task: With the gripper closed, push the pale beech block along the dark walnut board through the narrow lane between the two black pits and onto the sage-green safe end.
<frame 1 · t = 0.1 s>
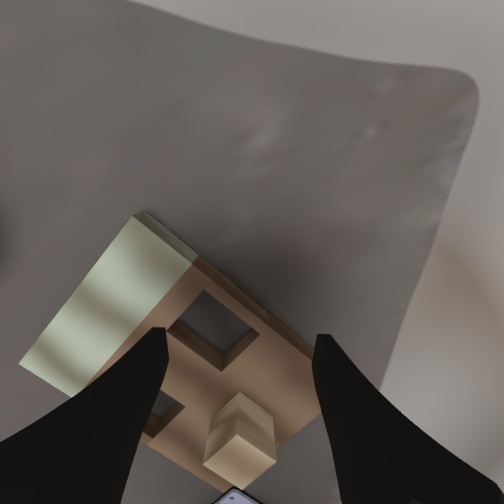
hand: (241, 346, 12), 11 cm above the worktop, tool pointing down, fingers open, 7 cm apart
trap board: (192, 358, 25), on the worktop
beech block: (241, 417, 24), point 2 cm above the worktop, touching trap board
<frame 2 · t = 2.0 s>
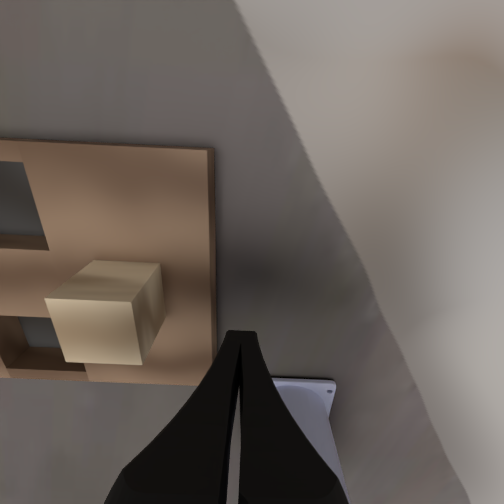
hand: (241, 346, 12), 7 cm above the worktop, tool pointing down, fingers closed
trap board: (56, 266, 19), on the worktop
beech block: (131, 289, 16), point 2 cm above the worktop, touching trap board
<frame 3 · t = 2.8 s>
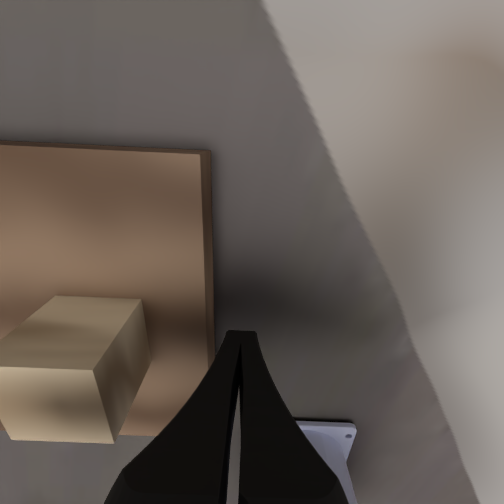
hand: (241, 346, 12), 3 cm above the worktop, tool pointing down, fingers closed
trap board: (17, 296, 15), on the worktop
beech block: (106, 330, 13), point 2 cm above the worktop, touching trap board
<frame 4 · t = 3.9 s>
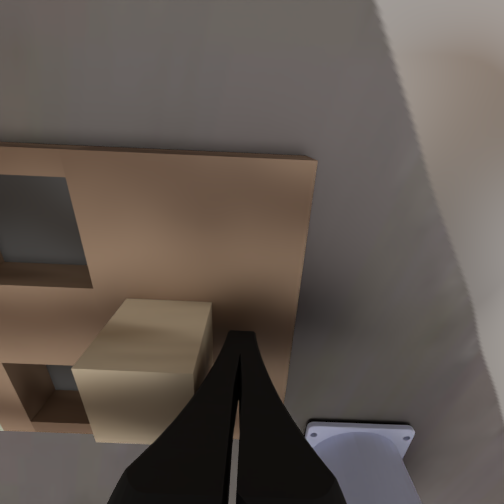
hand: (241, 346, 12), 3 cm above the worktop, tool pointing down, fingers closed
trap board: (92, 300, 15), on the worktop
beech block: (172, 333, 13), point 2 cm above the worktop, touching gripper, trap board
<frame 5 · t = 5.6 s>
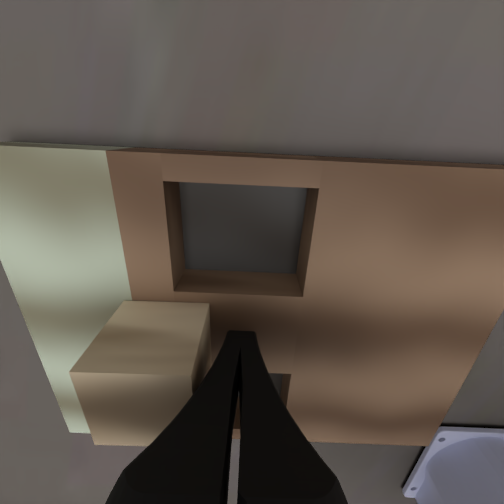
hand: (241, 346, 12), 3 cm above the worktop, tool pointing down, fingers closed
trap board: (256, 306, 15), on the worktop
beech block: (170, 334, 13), point 3 cm above the worktop, touching gripper
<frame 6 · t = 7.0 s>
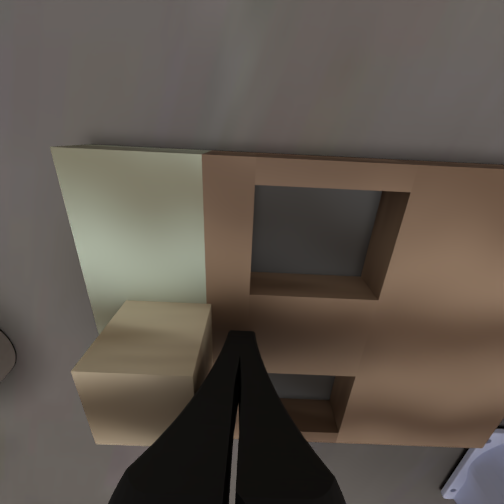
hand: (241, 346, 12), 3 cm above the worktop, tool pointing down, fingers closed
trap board: (315, 309, 15), on the worktop
beech block: (172, 334, 13), point 2 cm above the worktop, touching gripper, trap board
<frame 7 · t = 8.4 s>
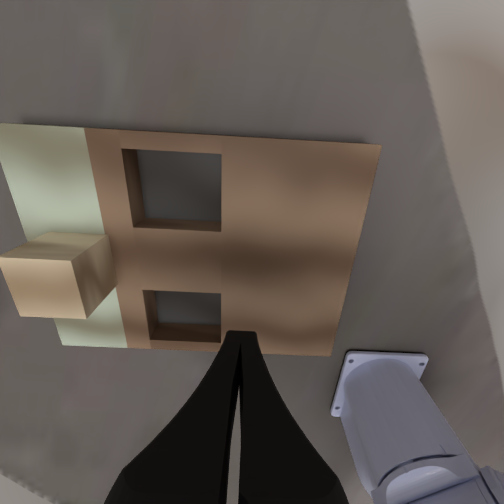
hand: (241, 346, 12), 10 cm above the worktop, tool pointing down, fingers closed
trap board: (200, 248, 21), on the worktop
beech block: (85, 259, 19), point 2 cm above the worktop, touching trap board
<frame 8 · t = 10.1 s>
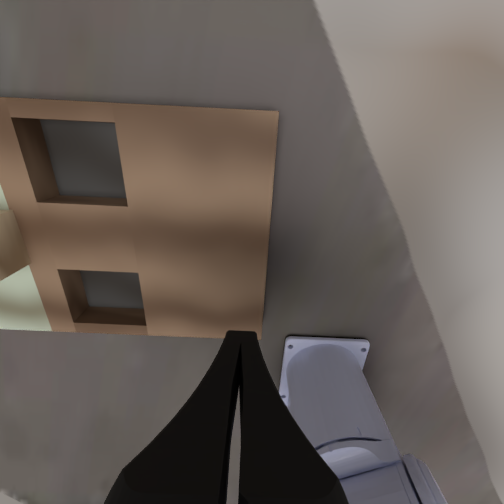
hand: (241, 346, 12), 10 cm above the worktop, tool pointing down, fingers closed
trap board: (121, 228, 20), on the worktop
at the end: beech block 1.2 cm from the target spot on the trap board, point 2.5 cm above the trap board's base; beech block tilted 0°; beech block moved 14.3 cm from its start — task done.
